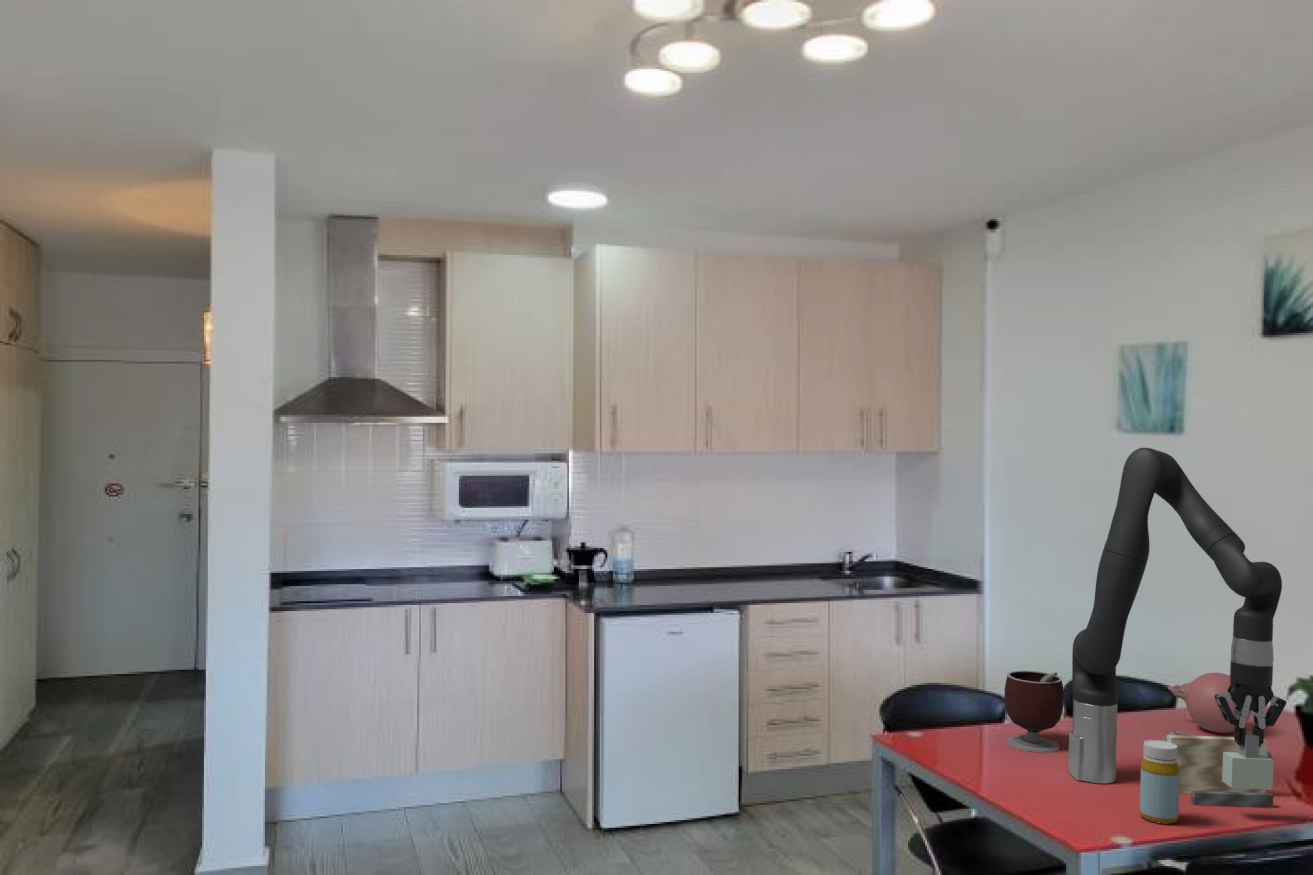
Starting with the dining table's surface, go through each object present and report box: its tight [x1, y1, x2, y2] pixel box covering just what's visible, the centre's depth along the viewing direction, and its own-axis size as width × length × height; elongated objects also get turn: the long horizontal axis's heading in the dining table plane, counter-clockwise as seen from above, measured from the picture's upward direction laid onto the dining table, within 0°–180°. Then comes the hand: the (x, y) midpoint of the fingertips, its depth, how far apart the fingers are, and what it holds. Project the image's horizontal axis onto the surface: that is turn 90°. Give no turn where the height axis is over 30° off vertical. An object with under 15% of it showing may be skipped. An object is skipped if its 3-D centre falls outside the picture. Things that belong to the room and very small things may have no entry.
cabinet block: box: [1222, 731, 1275, 791], centre depth 214 cm, size 8×4×10 cm, turn 86°
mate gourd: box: [1003, 670, 1065, 754], centre depth 261 cm, size 16×14×20 cm
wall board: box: [1166, 734, 1274, 808], centre depth 225 cm, size 20×9×12 cm, turn 87°
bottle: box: [1139, 739, 1180, 825], centre depth 213 cm, size 7×7×15 cm
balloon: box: [1167, 672, 1252, 734], centre depth 278 cm, size 15×20×15 cm
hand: (1248, 745), depth 214 cm, fingers closed on cabinet block, 2 cm apart
